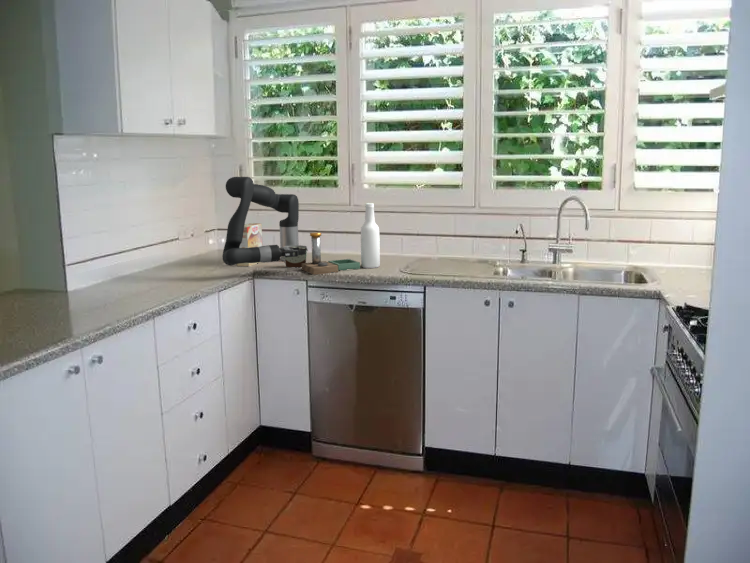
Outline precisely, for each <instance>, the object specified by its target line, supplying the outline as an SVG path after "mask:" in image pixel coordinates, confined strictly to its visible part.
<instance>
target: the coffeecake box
mask: <svg viewBox="0 0 750 563" xmlns="http://www.w3.org/2000/svg"><path fill="white" fill-rule="evenodd" d="M262 226H263V225H262V223H255V222H253V223H245V225H244V232H243V239H242V242H241V244H240V247H239V248H250V247H260V246H263V229H262V228H263V227H262ZM258 264H261V263H260V262H259V263H258ZM258 264H257V263H240V264H236V266H237V267H247V266H248V267H253V266H254V265H258Z"/></svg>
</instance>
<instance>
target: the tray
mask: <svg viewBox="0 0 750 563" xmlns="http://www.w3.org/2000/svg"><path fill="white" fill-rule="evenodd" d="M327 262H329V263H332V264H335V265H337V266H338V270H343V271H348V270H347V269H353V270H360V269H361V261H356V260H354V259H351V258H346V259H336V260H335V259H334V260H328V261H327Z"/></svg>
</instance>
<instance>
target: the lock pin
mask: <svg viewBox="0 0 750 563" xmlns="http://www.w3.org/2000/svg"><path fill="white" fill-rule="evenodd" d="M309 236H310V237H311V262H312V264H313V265H316V264H318V263H321V262H322V260H321V259H322V257H321V254H322V253H321V236H322V232H315V231H314V232H310V233H309Z"/></svg>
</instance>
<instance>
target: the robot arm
mask: <svg viewBox="0 0 750 563" xmlns="http://www.w3.org/2000/svg"><path fill="white" fill-rule="evenodd" d="M225 190H226V192H227V194H228V195H229V196H230V197H232V198H236V199H237V198H238V199H240V202H239V204H238V206H237V208H236V210H235V212H234V213H233V214H232V216H231V218H230V219H229V222H228V225H227V231H226V237H225V243H224V246H223V250H222V261H223V263H224V264H225V265H227V266H234V265H237V264H240V263H258V264H260V263H259V262H261V263H264V264H265V263H274V262H280V261H283V262H285V258H284V257H297V256H298V255H305V254H306V255H307V253H306V250H299V248H298V247H296V248H290V247H289V248H288V247H285V246H293V245H300V244H299V225H298V224H299V216H300V215H299V208H300V205H299V204H300V203H299V197H298V196H297V195H296V194H291V193H290V194H289V193H288V194H287V193H284V194H283V193H276V191H275V190H274V189H273V188H272V187H269V186H267V185H264V184H257V183H254V180H253V179H252V177H250V176H232V177H230V178H228V179H227V181H226V183H225ZM252 203H254V204H256V205H260V206H263V207H266V208H270V209H273V210H275V211H277V212H278V213H284V214H285V213H286V214H287V216H286V218H284V219H281V220H280V221H279V222H278V223H279V242H280V243H279V245H280V246H279V245H278V244H270V245H269V244H268V245H262V246H260V247H250V248H239V247H240V244H241V242H242V239H243V232H244V225H245V224H246V219H247V216H248V212H249V209H250V206H251V204H252ZM293 253H295V254H293Z"/></svg>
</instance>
